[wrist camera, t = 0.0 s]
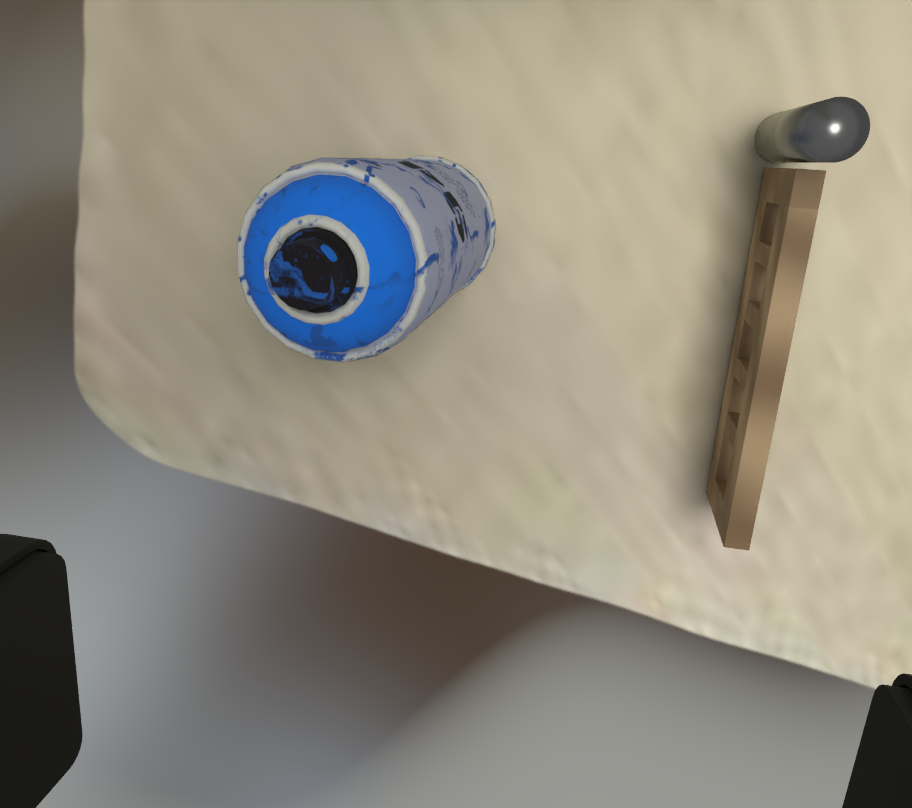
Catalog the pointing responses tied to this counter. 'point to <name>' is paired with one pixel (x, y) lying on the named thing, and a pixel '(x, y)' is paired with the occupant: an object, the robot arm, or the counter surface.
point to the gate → (761, 347)
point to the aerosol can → (361, 250)
